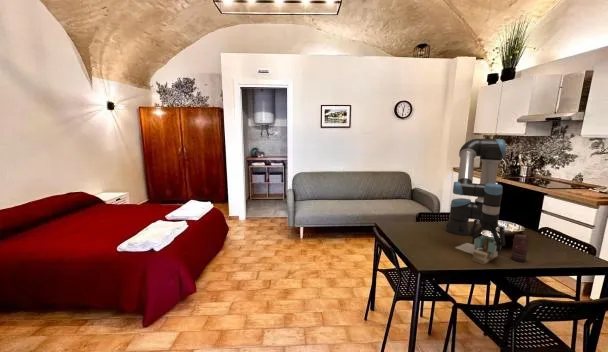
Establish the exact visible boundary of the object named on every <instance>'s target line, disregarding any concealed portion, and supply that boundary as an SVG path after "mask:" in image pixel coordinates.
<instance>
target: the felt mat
mask: <svg viewBox="0 0 608 352" xmlns="http://www.w3.org/2000/svg"><path fill="white" fill-rule="evenodd" d="M454 248H455V249H456V250H459V251H461V252H465V253H468V254H470V255H473V252H475V251H477V250H479V248H477V250H473V248H474V244H473V243H469V242H465V243H462V244H461V245H457V246H455V247H454ZM481 248H482V247H481ZM481 248H480V249H481Z"/></svg>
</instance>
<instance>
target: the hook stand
mask: <svg viewBox="0 0 608 352" xmlns="http://www.w3.org/2000/svg"><path fill="white" fill-rule="evenodd" d="M488 242H489V239H485V241H484V246H482V247H481V249H479V250H477V251H475V252H473V254H472V260H471V261H472V262H475V263H477V264H480V265H482V266H483V265H485V264H487V263H488V262H489V263H490V261H493V260H494V259H495V257H493V255H494V253H491V252H488Z"/></svg>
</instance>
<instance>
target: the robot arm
mask: <svg viewBox="0 0 608 352" xmlns="http://www.w3.org/2000/svg"><path fill="white" fill-rule="evenodd" d="M506 155H507V147H506V141H505V140H504V139H500V138H472V139H470V140H468V141H466V142H465V143H463V145H462V146H461V147H460V149H459V152H458V157H459V168H458V175H457V181H454V182H453V186H452V194H453V195H458V196H466V197H475V198H474V201H472V199H470V198H463V197H461V198H460V197H459V198H453V199H451V201H450V209H449V217H448V221H447V223H446V224H445V227H444V228H445V229H446V230H447V231H446V230H445V231H446V232H448V231H449V232H448V233H450V232H451V233H450V234H453V233H454V235H457V234H458V235H459V236H470V237H472V243H471V244H472V245H474V248H473V250H477V247H475V240H476V238H477V237H479V236H480V235H481V233H482V232H483V231H484V230H485V231H486V230H487V231H489V232H491V235H492V236H493V237H492V238H494V239H495V242H496V245H495V248H494V255H493V257H494V258H497V257H498V253H499V252H500V251H501V250H500V248H501V249H502V247H505V246H506V238H505V237H506V236H505V228H506V227H505V226H504V225H499V219H500V218H499V217H500V210H501V203H502V202H501V201H502V196H503V185H502V184H500V183H499V184H498V183H497V177H498V176H497V175H498V172H499V171H498V170H499V163H500V162H502V161H503V159H505V158H506ZM476 157H479V161H480V162H482V163H481V172H480V179H479V183H474V182H473V181H474V179H473V178H474V167H475V166H474V165H475V158H476ZM476 197H477V198H476ZM469 220H473V225H472V227H471V228H470V224H469ZM479 224H480V227H479V229H478V230H477V228H478V226H479ZM497 229H498V232H499V234H498V232H497Z"/></svg>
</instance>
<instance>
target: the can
mask: <svg viewBox="0 0 608 352" xmlns="http://www.w3.org/2000/svg"><path fill="white" fill-rule="evenodd" d="M529 243H530V237H529V235H527V234H522V233H515V234H514V237H513V242H512V250H511V260H513V261H516V262H519V263H525V262H526V261H527V255H528V254H527V253H528V247H529Z"/></svg>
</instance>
